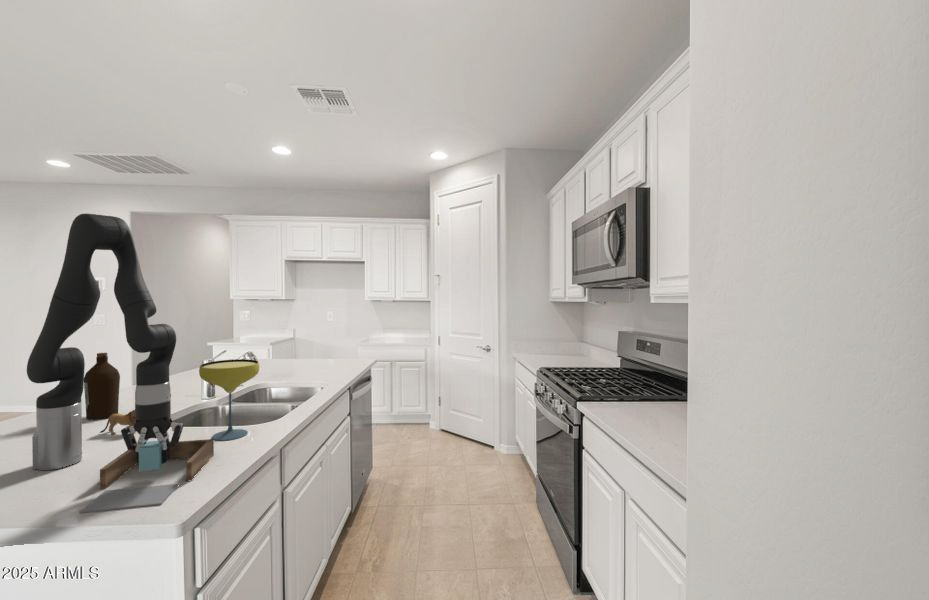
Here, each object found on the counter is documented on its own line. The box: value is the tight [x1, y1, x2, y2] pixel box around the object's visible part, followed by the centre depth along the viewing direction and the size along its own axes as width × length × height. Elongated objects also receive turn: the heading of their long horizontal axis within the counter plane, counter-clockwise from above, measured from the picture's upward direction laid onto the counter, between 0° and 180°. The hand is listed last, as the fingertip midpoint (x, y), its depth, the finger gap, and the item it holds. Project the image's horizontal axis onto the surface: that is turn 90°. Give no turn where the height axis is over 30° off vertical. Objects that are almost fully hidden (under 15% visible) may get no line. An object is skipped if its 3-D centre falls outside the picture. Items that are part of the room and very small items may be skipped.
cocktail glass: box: [198, 358, 260, 442], centre depth 142 cm, size 18×18×25 cm
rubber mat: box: [78, 483, 180, 514], centre depth 99 cm, size 16×10×1 cm, turn 105°
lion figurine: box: [99, 409, 138, 436], centre depth 144 cm, size 15×5×9 cm, turn 105°
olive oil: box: [83, 352, 121, 421], centre depth 160 cm, size 11×11×25 cm
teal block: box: [138, 440, 168, 472], centre depth 109 cm, size 4×5×6 cm
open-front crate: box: [99, 438, 215, 490], centre depth 114 cm, size 20×17×5 cm
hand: (153, 463), depth 109 cm, fingers closed on teal block, 4 cm apart
